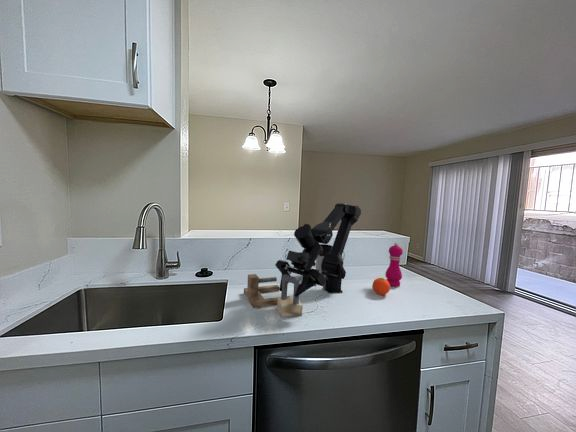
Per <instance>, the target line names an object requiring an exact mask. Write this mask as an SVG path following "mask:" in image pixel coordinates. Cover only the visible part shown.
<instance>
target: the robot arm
mask: <svg viewBox="0 0 576 432" xmlns="http://www.w3.org/2000/svg"><path fill="white" fill-rule="evenodd" d="M361 215H362V209H361V208H360V206H359V205H352V204H347V203H343V202H342V203H341V202H340V203H339V202H338V203H336V204H335V205H334V208H333V209H332V210H331V211H330V212H329V214H328V215H327V216H326V218H324V220H323V221H321V222H320V223H318V224H316V225H315V226H314V227H312V226H311V225H310V224H309V223H304V225H301V226H299V227H298V228H296V229H295V230H294V233H293V236H294V237H295V239H296V241H297V242H298V243H299V245H300V247H301V248H303V249H302V251H301V252H298V251H297V252H296V251H294V250H293V251H292V250H288V252H287V254H286V258H285V259H286V260H287V261H286V260H282V259H279V260H277V261H276V263H274V264H275V265H274V266H275V267H276V268H277V269H278V271H279V272H280V273H281V277H280V283H279V292H282V275H285V274H286V275H289V276H291V275H292V273H293V274H296V275H299V276H302V279H301V281H300V285H299V287H298V289H297V291H296V293H295V297H298V296H299V297H300V295H302V294H304V293H305V292H306V291H307V290H310V289H311V288H313V287H316V286H320V287H322V288H323V290H325V291H326V292H327V293H328V294H336V293H337V294H339V293H343V290H342V280H344V279H345V277H346V274H347V272H346V269H345V268H344V260H343V254H344V253H343V251H344V250H345V248H346V247H345V246H346V244H347V241H348V238H349V235H350V232H351V229H352V226H354V225H355V224H356V223H357V222H358V220H359V218H360V216H361ZM339 222H340V224H339ZM338 224H339V226H338ZM336 226H338V228H337V229H338V230H337V232H336V236H335V238H334V240H333V242H332V243H333V244H332V245H331V246H332V249H331V251H330V252H329V253H325V254H324V258H323V260H322V263H321V270H322V272H321V271H320V270H316V268H313V267H316V259H317V257H318V255H319V253H321V254H323V249H322V246H320V244H326V245H329V243H330V241H331V239H332V238H333V237H334V236H333V235H334V234H333V232H334V229H335V228H336ZM288 261H290V263H289V262H288ZM290 264H291V265H292V266H291V265H290ZM324 275H325V277H324ZM289 283H290V282H288V284H289Z"/></svg>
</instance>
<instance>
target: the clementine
mask: <svg viewBox="0 0 576 432" xmlns="http://www.w3.org/2000/svg"><path fill="white" fill-rule="evenodd" d="M386 279H387V278H384V277H377V278H375V279H374V280H373V281H372V286H371V287H372V290H373V292H374V293H376V295H380V296H384V295H385V296H386V295H387V294H388V293H389V292H390V290H391V286H390V284H389V282H388V281H387V280H386Z"/></svg>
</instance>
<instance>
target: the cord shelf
mask: <svg viewBox="0 0 576 432" xmlns="http://www.w3.org/2000/svg"><path fill="white" fill-rule="evenodd" d="M277 280H278V279H277V277H276V276H275V277H274V276H273V277H262V278H261V277H259V275H257V274H256V273H253V274H252V273H251V274H247V287H244V288H243V294H244V296H245V297H246V299H247V301H248V302H249V304H250V305H251V306H252V309H258V308H266V307H272V306H277V300H278V298H280V297H281V296H278V297H277V296H276V297H269V298H264V296H263V294H266V293H267V294H268V293H277V292H280V290H279V287H280V285H278V284H275V285H274V284H273V285H263V286H259V284H262V283H272V282H273V283H274V282H277ZM287 297H291V296H290V295H287Z"/></svg>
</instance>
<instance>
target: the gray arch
mask: <svg viewBox="0 0 576 432" xmlns="http://www.w3.org/2000/svg"><path fill="white" fill-rule="evenodd" d="M281 276H282V291H280V292H281V295H280V297H281V299H282V300H285V299H287V296H288V285H289V283H291V284H293V292H292V294H293V295H292V297H293V304H295V305H297V304H299V300H300V295H299V296H298V297H295V293H296V291H297V289H298V287H299V285H300V283H301V278H298V277H295V276H292V275H290V276H289V275H286V274H285V275H282V274H281ZM288 282H289V283H288Z"/></svg>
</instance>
